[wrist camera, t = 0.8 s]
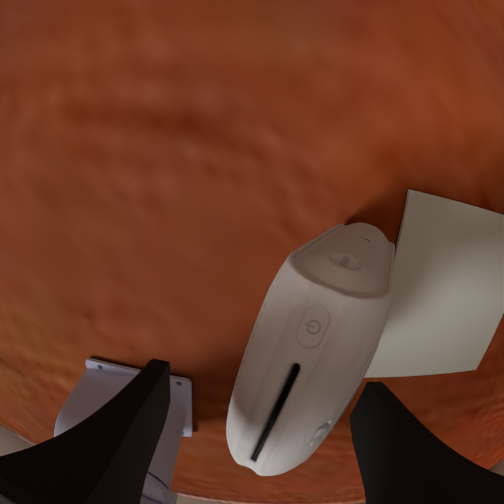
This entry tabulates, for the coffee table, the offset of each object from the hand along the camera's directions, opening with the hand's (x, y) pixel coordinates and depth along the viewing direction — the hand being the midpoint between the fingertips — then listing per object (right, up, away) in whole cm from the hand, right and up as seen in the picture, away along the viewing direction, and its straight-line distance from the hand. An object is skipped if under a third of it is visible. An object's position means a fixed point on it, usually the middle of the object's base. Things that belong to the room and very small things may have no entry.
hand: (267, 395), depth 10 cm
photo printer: (+6, +2, +9) cm, 11 cm away
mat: (+16, +1, +10) cm, 19 cm away
